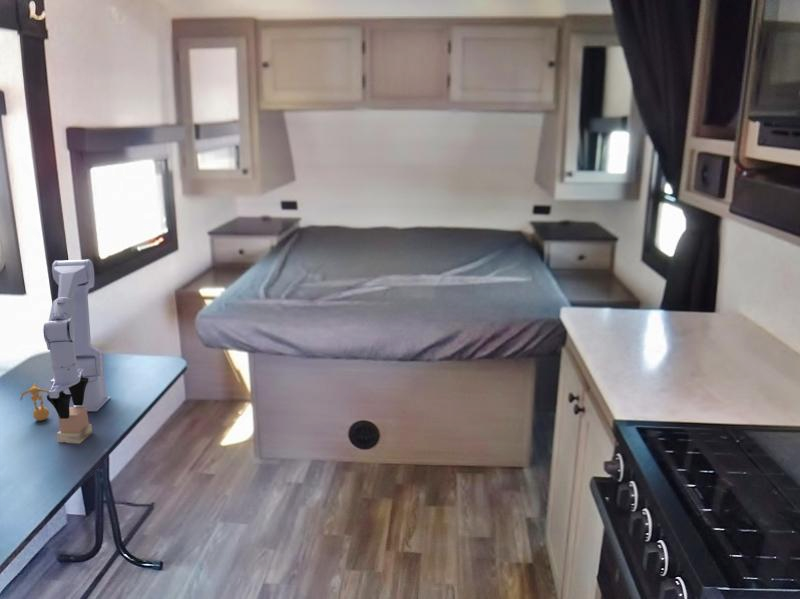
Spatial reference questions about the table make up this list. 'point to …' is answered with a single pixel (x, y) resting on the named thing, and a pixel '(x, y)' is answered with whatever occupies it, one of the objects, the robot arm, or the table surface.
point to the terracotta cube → (74, 420)
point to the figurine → (39, 412)
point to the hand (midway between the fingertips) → (71, 411)
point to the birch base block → (74, 435)
